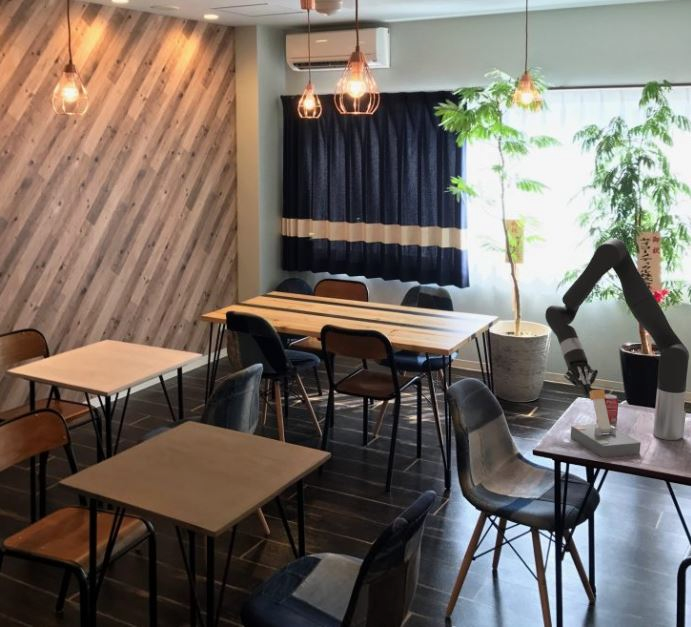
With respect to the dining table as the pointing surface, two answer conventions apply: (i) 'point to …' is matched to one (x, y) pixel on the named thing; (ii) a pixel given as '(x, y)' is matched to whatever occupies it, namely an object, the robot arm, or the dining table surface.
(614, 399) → the soda can
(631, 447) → the switch panel
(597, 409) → the lever
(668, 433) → the robot arm
